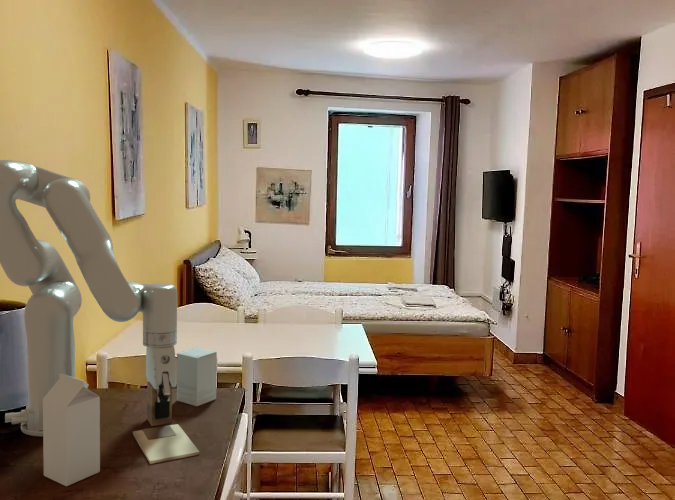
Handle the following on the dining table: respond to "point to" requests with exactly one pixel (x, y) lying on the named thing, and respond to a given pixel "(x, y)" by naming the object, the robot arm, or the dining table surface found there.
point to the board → (165, 443)
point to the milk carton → (71, 431)
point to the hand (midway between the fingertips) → (159, 413)
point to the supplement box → (196, 376)
